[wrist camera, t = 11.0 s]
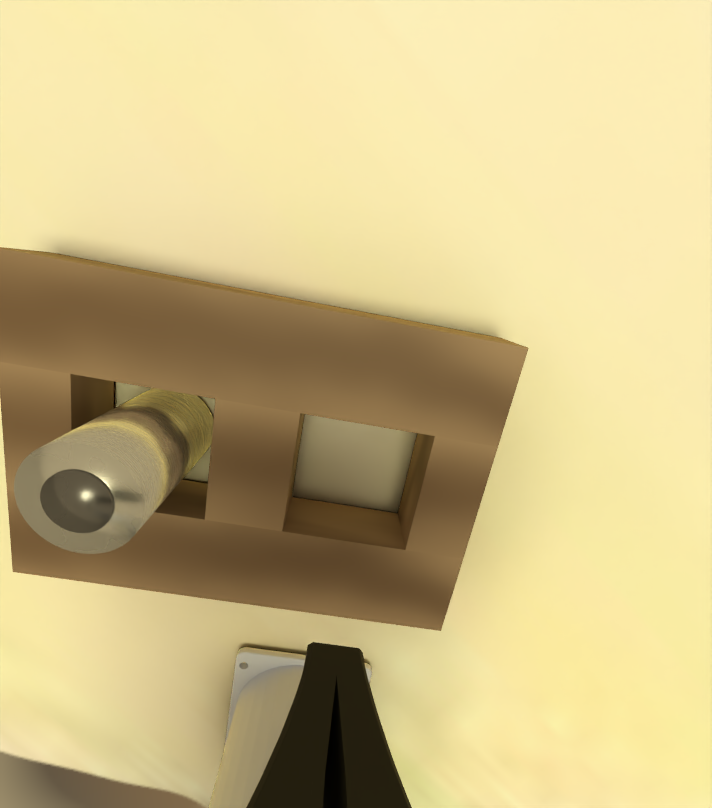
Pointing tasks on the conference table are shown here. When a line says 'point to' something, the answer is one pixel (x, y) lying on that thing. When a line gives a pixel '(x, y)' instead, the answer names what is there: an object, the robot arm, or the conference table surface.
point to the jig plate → (256, 434)
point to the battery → (112, 471)
